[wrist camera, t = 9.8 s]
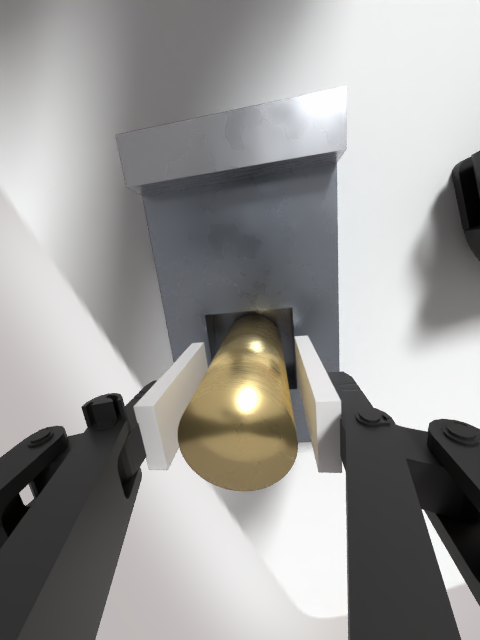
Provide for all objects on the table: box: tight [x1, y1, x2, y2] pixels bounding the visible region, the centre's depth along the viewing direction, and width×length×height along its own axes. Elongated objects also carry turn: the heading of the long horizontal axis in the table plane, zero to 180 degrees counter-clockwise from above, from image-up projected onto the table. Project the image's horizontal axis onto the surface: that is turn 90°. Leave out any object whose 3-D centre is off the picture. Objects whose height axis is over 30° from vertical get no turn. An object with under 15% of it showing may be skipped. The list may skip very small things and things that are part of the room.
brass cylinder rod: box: [178, 315, 298, 491], centre depth 13 cm, size 4×4×10 cm
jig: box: [116, 86, 346, 442], centre depth 16 cm, size 20×11×5 cm, turn 6°
